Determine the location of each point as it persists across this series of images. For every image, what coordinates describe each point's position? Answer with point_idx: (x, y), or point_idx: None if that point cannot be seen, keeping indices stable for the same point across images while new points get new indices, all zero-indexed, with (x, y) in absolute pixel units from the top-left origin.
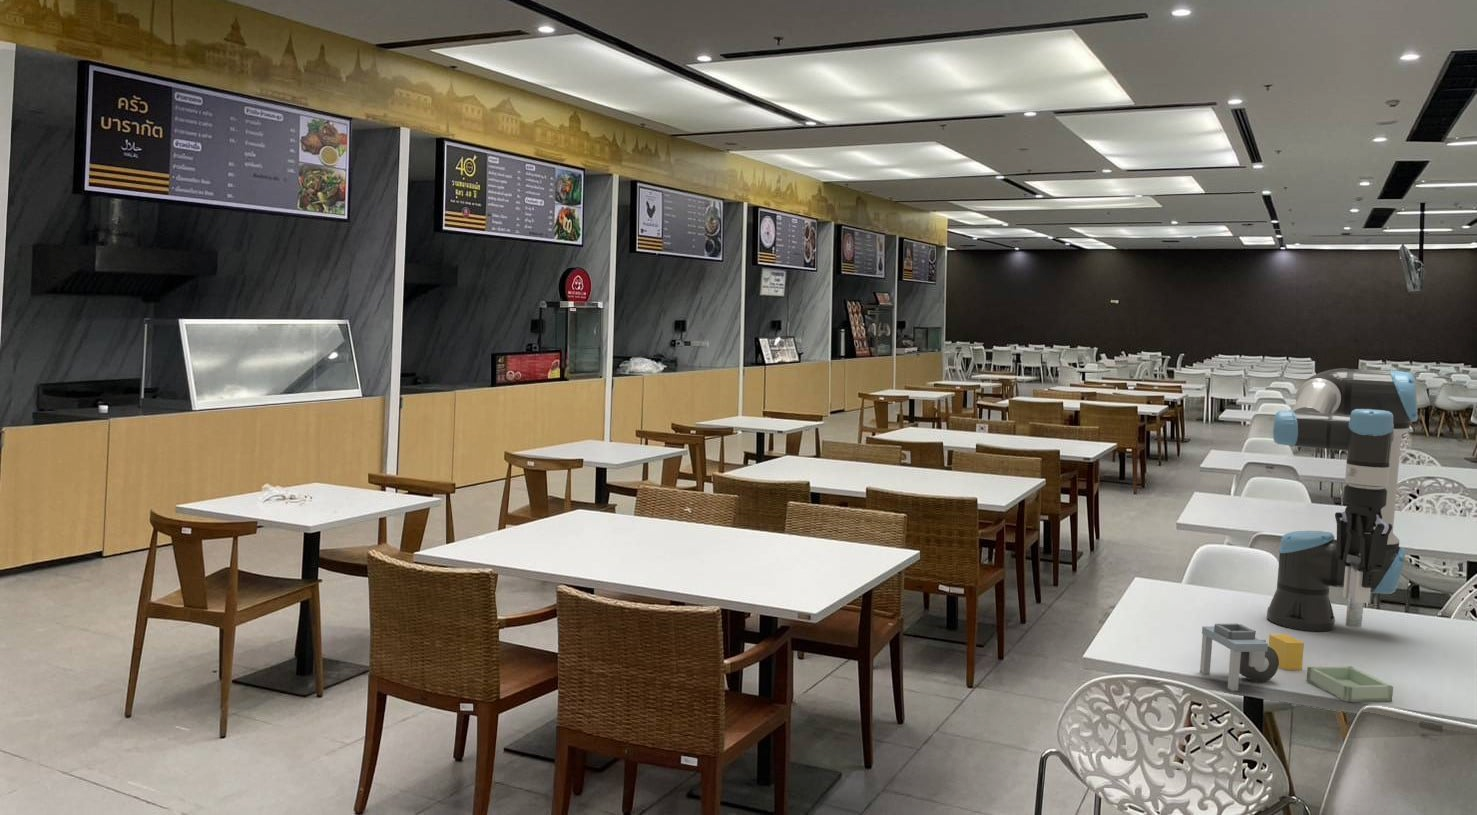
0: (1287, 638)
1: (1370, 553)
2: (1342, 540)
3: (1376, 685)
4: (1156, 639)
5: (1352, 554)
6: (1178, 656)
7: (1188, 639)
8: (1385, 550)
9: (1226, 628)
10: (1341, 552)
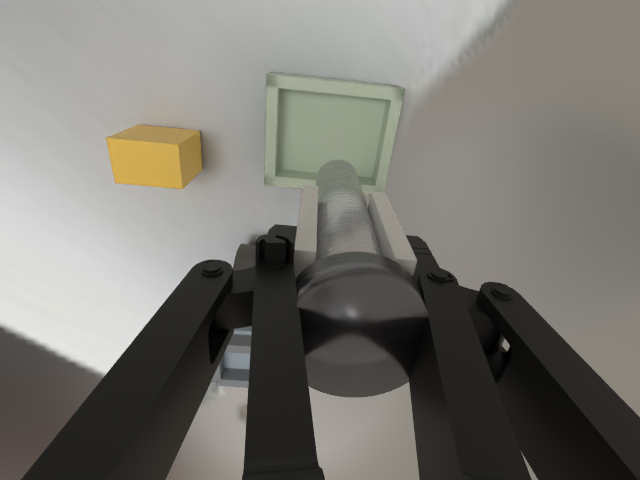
0: (144, 161)
1: (513, 427)
2: (182, 426)
3: (389, 125)
4: (34, 283)
5: (322, 365)
6: (133, 300)
7: (16, 228)
8: (622, 405)
9: (243, 381)
10: (221, 353)
